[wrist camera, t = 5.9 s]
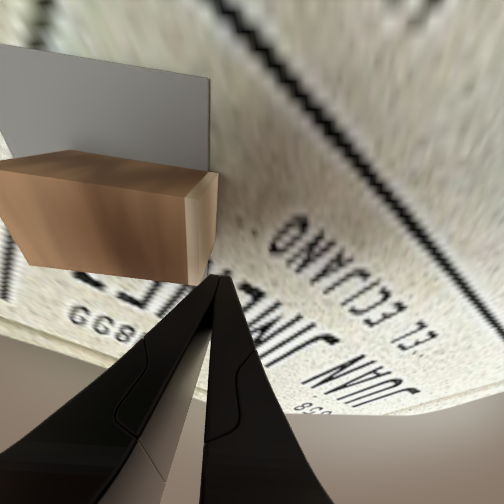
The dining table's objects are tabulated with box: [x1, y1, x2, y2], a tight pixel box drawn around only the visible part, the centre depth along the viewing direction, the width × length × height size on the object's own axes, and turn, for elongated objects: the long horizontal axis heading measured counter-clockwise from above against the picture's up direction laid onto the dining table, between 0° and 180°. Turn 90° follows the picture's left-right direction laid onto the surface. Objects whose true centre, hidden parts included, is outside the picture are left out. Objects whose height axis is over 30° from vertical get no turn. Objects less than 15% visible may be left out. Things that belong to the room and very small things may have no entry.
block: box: [0, 150, 219, 286], centre depth 12 cm, size 5×5×9 cm
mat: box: [0, 44, 209, 282], centre depth 14 cm, size 12×14×1 cm
